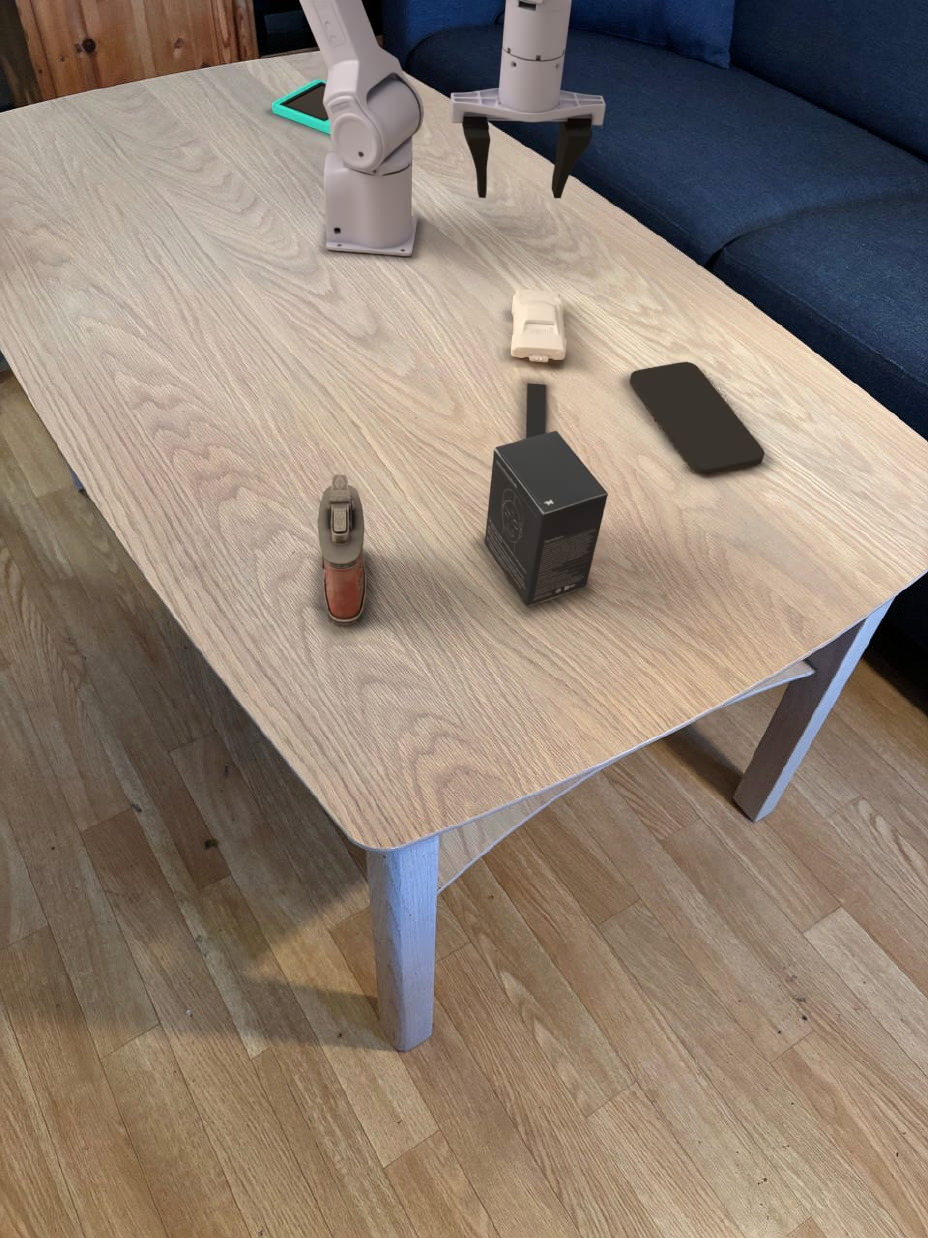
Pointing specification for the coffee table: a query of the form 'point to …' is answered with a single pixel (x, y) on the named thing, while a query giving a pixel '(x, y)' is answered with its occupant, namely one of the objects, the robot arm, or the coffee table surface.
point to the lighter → (342, 552)
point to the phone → (696, 418)
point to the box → (543, 516)
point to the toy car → (538, 325)
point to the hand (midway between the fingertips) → (518, 193)
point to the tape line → (536, 410)
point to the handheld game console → (305, 106)
